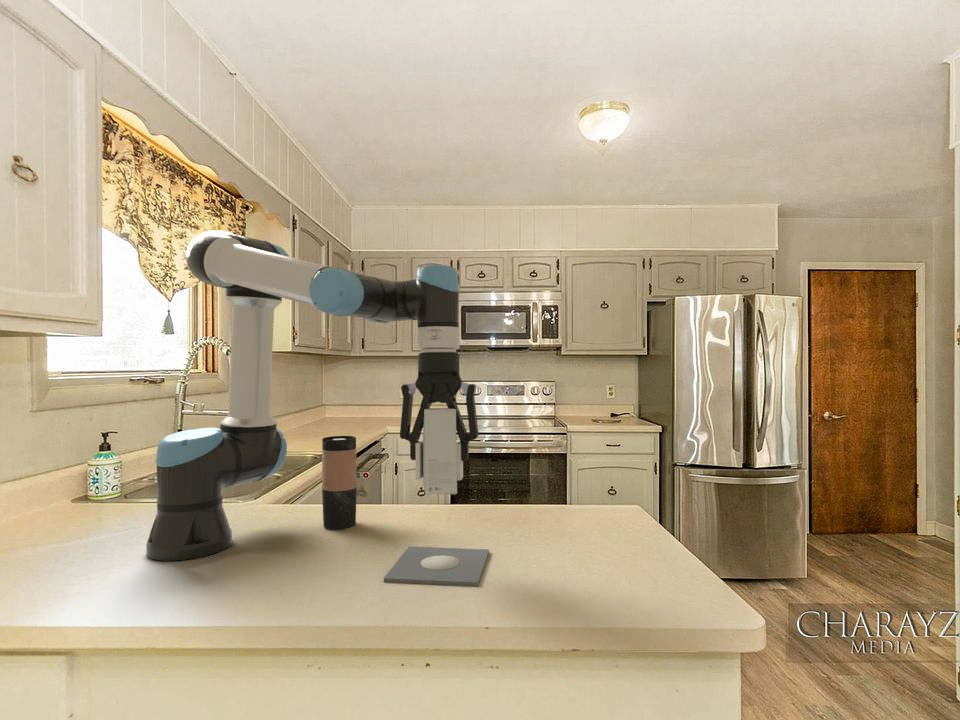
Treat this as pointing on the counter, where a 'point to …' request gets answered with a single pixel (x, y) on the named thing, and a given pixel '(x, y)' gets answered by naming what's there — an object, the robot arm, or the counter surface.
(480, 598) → the counter surface
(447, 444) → the skincare box
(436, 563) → the mat
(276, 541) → the counter surface
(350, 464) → the travel mug
